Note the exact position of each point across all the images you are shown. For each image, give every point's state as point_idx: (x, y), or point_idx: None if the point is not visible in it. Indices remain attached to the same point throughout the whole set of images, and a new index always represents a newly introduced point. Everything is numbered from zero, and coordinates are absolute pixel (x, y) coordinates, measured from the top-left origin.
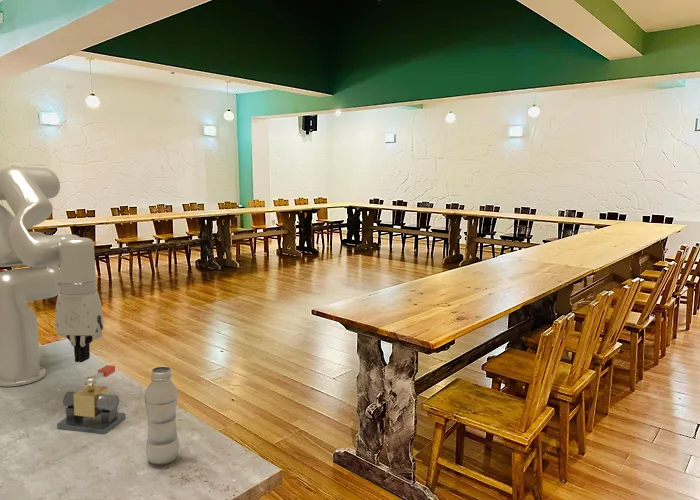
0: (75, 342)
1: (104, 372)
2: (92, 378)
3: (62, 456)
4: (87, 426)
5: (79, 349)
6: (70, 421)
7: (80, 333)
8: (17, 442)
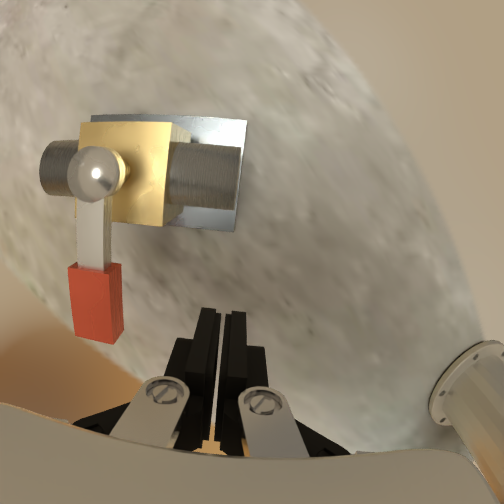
0: (240, 413)
1: (78, 265)
2: (78, 171)
3: (152, 9)
4: (143, 118)
5: (195, 358)
6: (212, 139)
7: (67, 447)
8: (311, 48)
